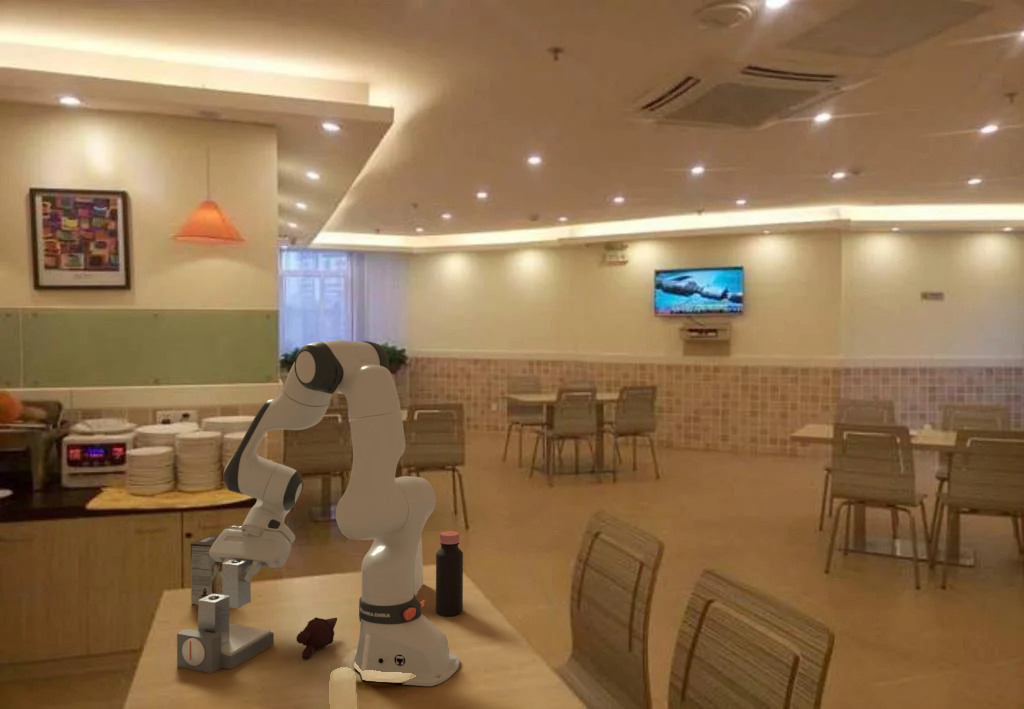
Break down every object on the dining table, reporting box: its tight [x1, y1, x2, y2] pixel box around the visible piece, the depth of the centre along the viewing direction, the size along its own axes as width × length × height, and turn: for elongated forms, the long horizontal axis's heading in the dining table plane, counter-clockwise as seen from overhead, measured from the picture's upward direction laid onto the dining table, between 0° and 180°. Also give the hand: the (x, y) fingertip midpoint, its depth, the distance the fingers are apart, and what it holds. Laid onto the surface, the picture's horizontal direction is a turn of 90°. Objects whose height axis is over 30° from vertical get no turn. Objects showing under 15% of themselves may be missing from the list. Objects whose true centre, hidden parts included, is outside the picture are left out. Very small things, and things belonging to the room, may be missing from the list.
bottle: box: [435, 530, 464, 617], centre depth 190 cm, size 7×7×20 cm
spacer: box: [222, 559, 252, 609], centre depth 176 cm, size 4×4×10 cm
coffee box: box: [190, 534, 223, 606], centre depth 198 cm, size 9×6×16 cm
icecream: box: [296, 617, 338, 661], centre depth 168 cm, size 7×7×15 cm
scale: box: [176, 623, 275, 674], centre depth 164 cm, size 14×17×7 cm
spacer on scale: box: [197, 594, 230, 646], centre depth 162 cm, size 4×4×10 cm
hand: (234, 579), depth 176 cm, fingers closed on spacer, 4 cm apart
